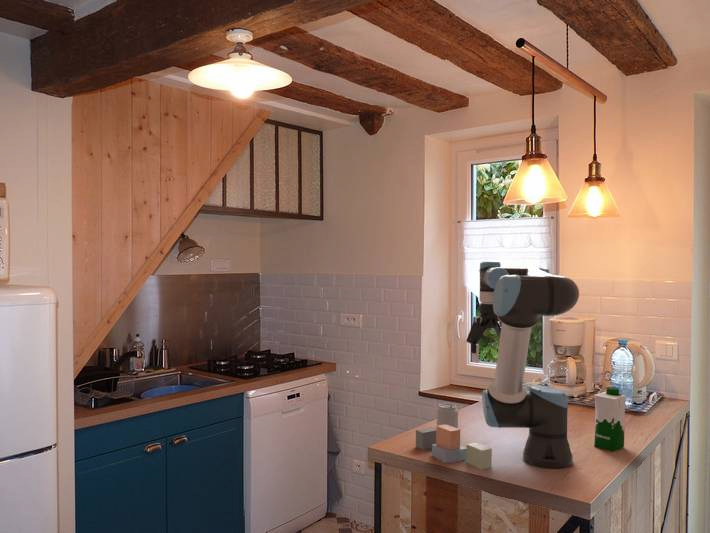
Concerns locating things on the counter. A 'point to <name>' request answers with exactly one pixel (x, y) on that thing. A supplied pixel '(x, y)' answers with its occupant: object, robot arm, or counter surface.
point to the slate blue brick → (448, 453)
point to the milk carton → (609, 419)
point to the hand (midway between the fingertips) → (489, 360)
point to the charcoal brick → (425, 438)
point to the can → (447, 415)
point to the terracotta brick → (448, 437)
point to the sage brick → (479, 455)
